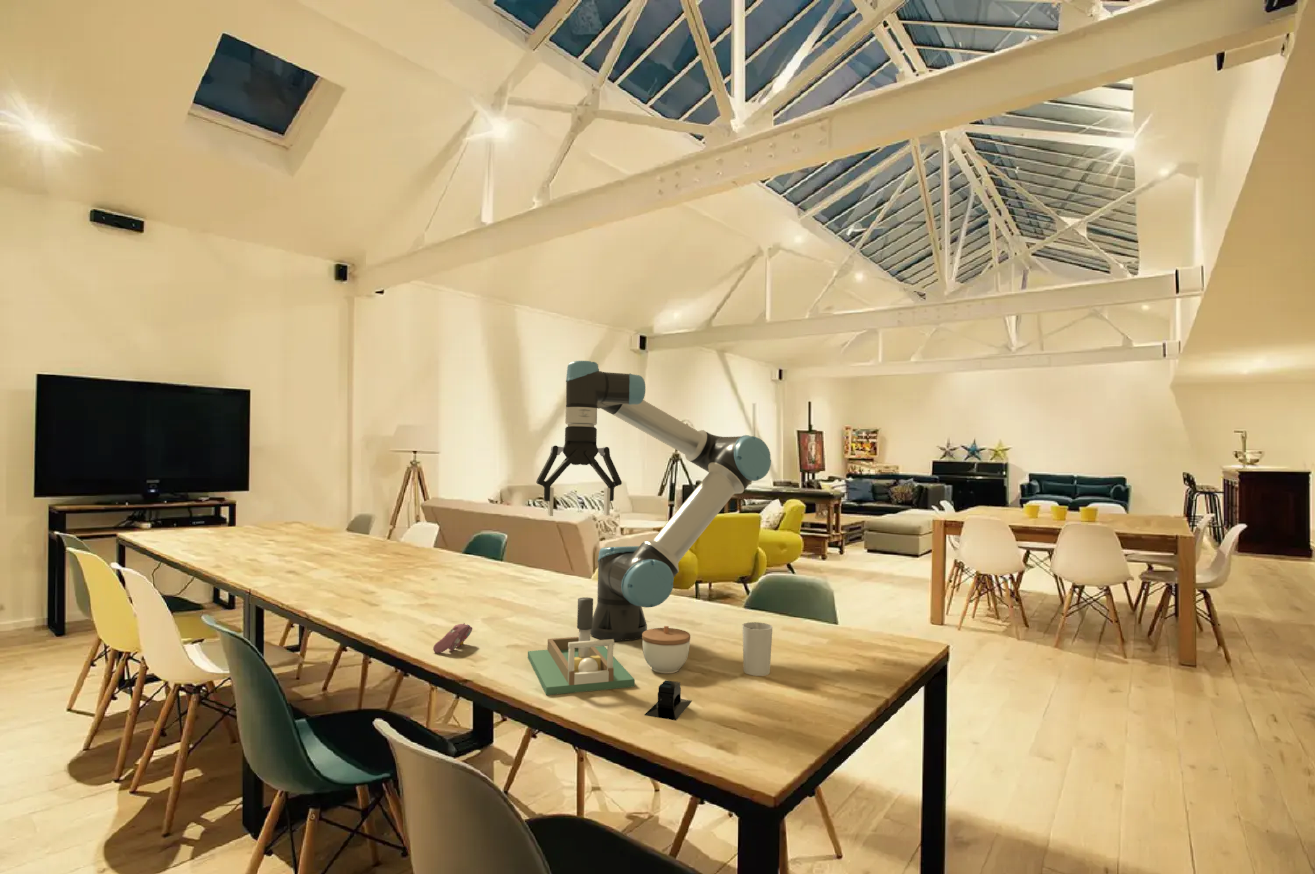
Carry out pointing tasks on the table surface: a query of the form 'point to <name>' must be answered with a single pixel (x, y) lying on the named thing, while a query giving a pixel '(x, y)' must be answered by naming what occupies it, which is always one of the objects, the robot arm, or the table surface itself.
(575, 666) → the striker
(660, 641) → the lidded jar
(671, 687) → the black arch on base
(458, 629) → the pink toy animal
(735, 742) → the table surface
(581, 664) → the ball
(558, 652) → the pitch
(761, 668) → the drinking glass
